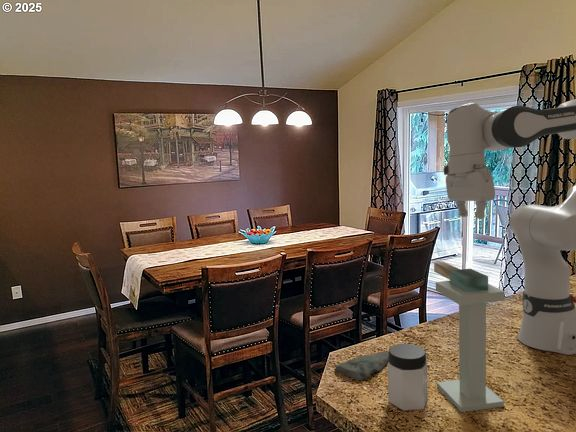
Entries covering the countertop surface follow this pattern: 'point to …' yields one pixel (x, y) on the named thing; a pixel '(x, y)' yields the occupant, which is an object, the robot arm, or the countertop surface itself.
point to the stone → (363, 365)
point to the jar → (407, 377)
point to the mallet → (462, 277)
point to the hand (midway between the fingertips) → (471, 217)
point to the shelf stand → (471, 349)
